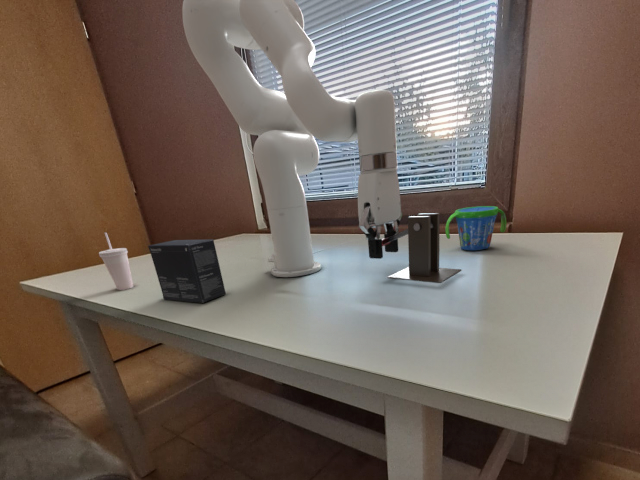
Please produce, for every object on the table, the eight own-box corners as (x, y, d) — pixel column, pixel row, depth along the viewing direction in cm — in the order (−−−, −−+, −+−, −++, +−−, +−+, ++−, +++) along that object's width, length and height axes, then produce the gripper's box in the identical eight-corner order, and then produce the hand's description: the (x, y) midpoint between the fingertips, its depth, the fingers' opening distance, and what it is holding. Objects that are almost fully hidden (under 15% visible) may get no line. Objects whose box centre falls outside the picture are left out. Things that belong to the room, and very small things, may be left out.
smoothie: (131, 283, 102) (113, 230, 96) (143, 285, 99) (125, 230, 93) (107, 290, 98) (86, 234, 92) (119, 292, 94) (98, 235, 88)
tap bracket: (387, 282, 80) (384, 219, 74) (410, 270, 86) (409, 212, 81) (440, 288, 72) (441, 218, 67) (461, 275, 79) (463, 211, 74)
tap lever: (373, 252, 81) (369, 241, 81) (387, 246, 85) (383, 236, 85) (425, 230, 72) (421, 218, 72) (438, 225, 76) (434, 214, 76)
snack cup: (449, 254, 97) (450, 213, 93) (441, 247, 107) (441, 209, 103) (511, 249, 96) (515, 207, 92) (498, 242, 106) (500, 203, 101)
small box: (227, 294, 83) (214, 238, 78) (203, 304, 78) (188, 245, 73) (187, 290, 89) (173, 238, 84) (162, 299, 84) (146, 245, 79)
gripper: (385, 164, 84) (390, 246, 92) (337, 169, 72) (347, 263, 80) (415, 160, 80) (417, 247, 87) (369, 165, 68) (376, 265, 75)
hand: (384, 254), depth 83 cm, fingers closed on tap lever, 5 cm apart
